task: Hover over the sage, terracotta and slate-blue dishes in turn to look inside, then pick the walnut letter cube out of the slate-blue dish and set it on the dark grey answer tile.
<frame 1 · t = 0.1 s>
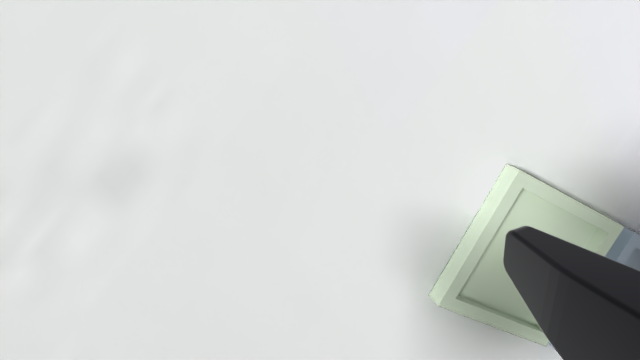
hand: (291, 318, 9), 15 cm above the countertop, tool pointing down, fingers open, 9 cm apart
dish sage: (521, 256, 30), on the countertop
dish slate: (624, 303, 33), on the countertop
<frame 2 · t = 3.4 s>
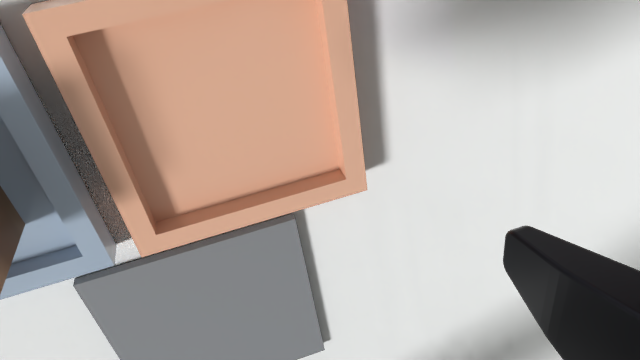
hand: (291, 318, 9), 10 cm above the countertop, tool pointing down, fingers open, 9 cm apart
answer tile: (216, 316, 22), on the countertop
dish terracotta: (225, 105, 17), on the countertop
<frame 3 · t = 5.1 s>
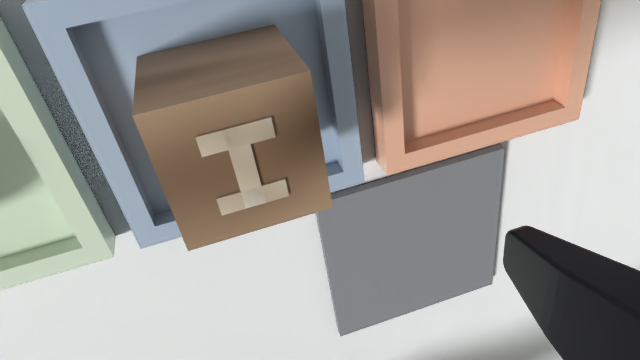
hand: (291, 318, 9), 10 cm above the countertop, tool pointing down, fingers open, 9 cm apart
answer tile: (412, 244, 24), on the countertop
dish slate: (223, 98, 17), on the countertop
dish terracotta: (475, 33, 19), on the countertop
letter cube: (224, 102, 17), resting on dish slate
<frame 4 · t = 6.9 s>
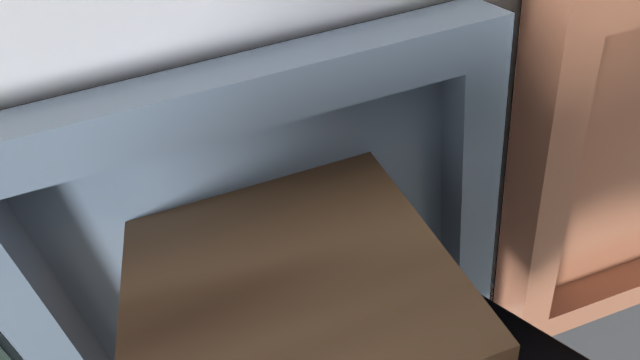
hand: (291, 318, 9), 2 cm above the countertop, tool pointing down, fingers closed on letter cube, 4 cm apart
dish slate: (273, 260, 10), on the countertop
letter cube: (277, 273, 10), resting on dish slate, touching gripper
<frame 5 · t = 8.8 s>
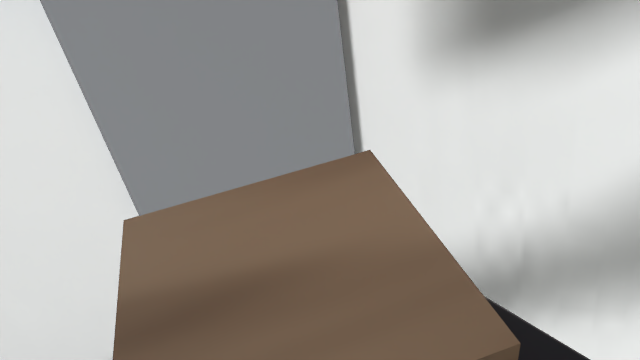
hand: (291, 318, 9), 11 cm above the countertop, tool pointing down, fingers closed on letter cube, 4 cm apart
answer tile: (226, 96, 18), on the countertop
letter cube: (276, 272, 10), point 10 cm above the countertop, touching gripper
when the fingers open (3 cm above the countertop, at t = 10.8 s): letter cube stays where it is, resting on answer tile.
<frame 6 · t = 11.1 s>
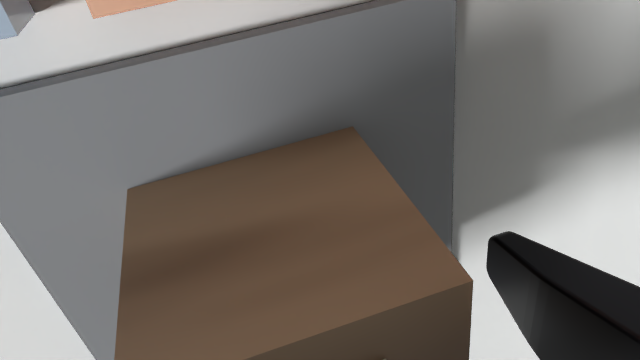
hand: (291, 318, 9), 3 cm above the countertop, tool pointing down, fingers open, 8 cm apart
answer tile: (265, 231, 11), on the countertop
letter cube: (268, 241, 11), resting on answer tile
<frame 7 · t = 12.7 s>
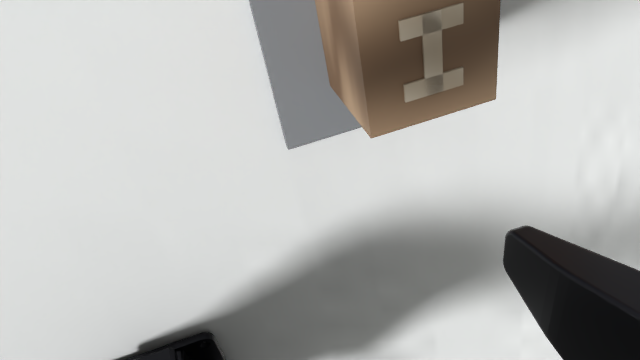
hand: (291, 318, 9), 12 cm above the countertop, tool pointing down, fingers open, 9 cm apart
answer tile: (372, 13, 18), on the countertop
letter cube: (376, 15, 18), resting on answer tile
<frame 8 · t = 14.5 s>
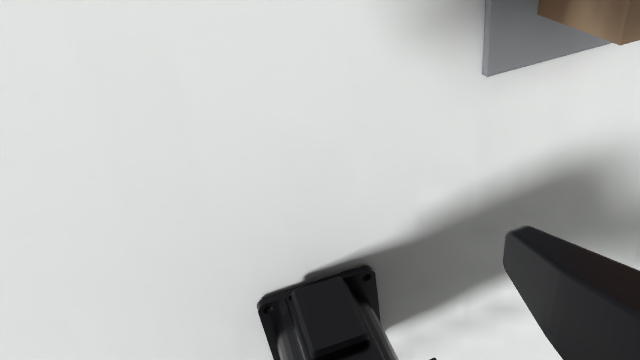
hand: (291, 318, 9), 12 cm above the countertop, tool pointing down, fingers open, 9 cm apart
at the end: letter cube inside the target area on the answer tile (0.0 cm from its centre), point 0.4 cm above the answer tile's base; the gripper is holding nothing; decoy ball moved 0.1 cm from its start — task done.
